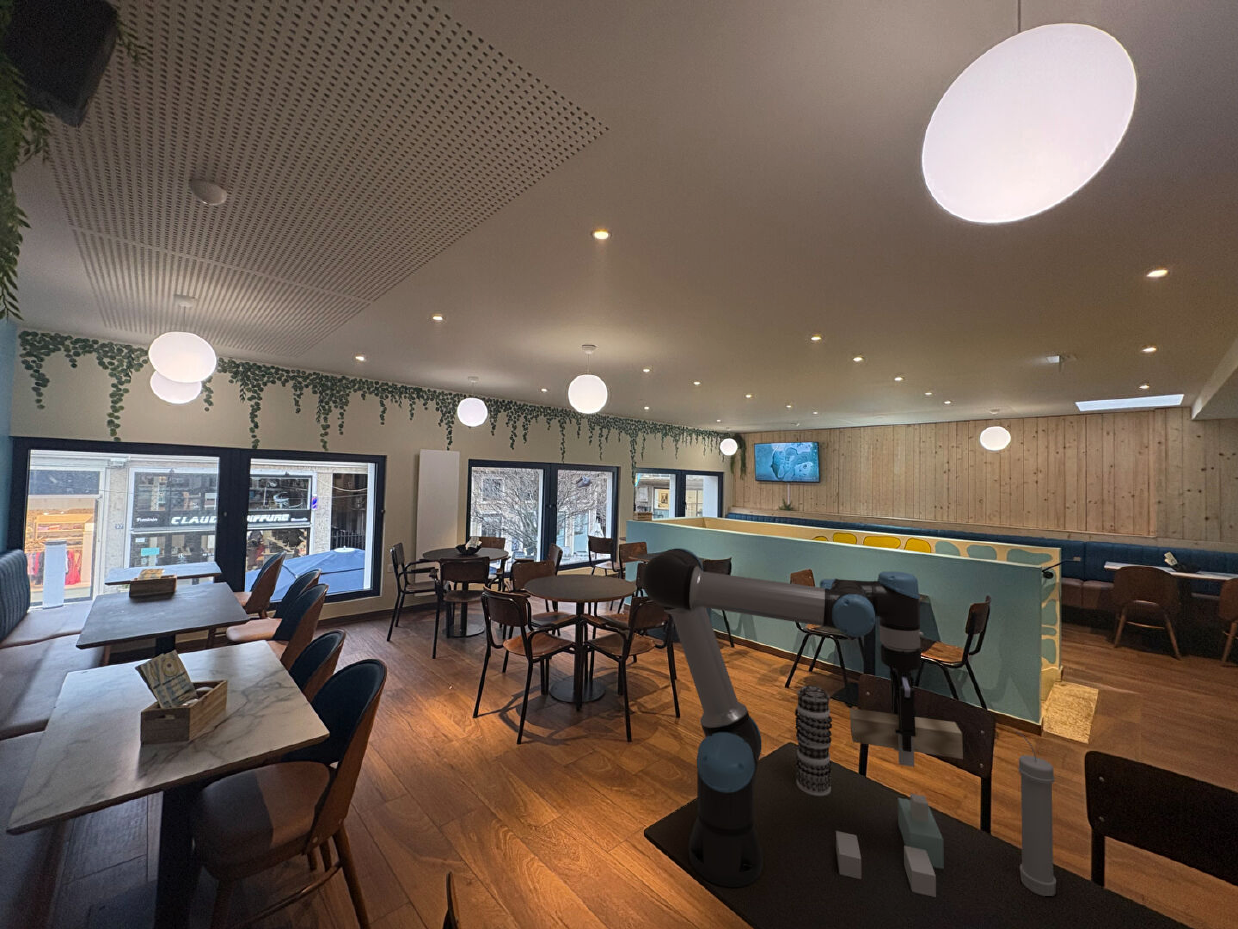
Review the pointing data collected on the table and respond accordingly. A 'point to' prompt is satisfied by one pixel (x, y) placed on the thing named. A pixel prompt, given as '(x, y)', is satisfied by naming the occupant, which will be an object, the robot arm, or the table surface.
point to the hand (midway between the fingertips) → (903, 757)
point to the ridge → (920, 828)
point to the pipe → (1037, 824)
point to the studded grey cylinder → (813, 741)
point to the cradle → (914, 863)
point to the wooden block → (928, 738)
